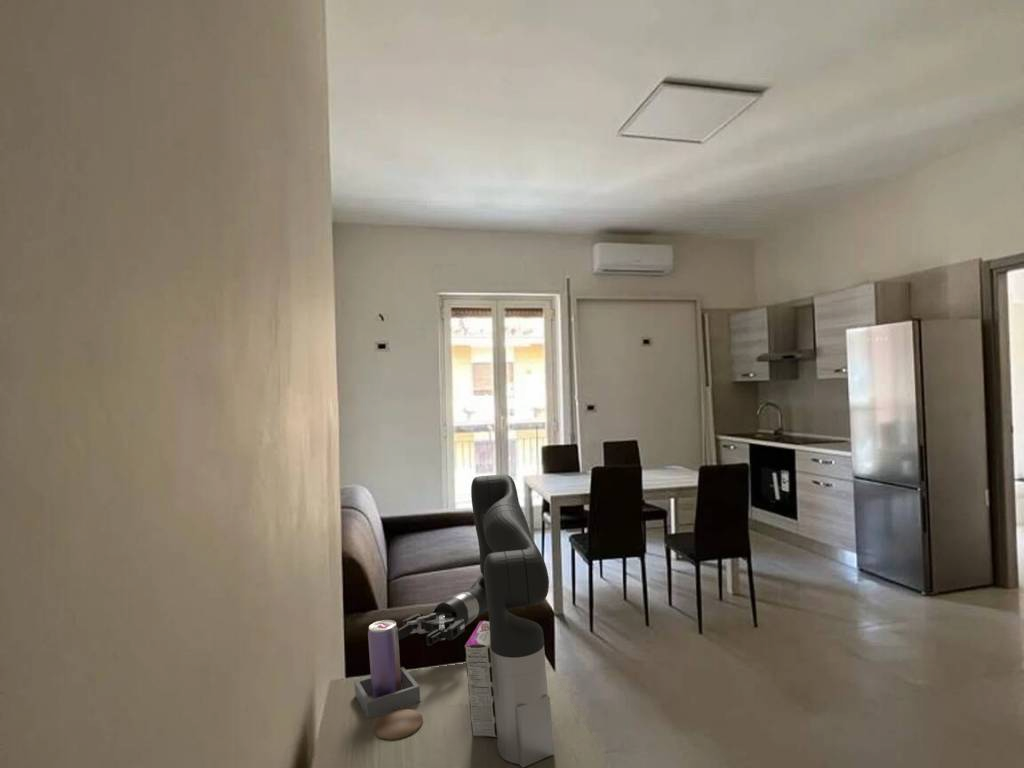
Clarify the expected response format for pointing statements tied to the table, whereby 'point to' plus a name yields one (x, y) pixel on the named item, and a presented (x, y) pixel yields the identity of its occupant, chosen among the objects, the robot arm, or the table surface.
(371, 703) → the square frame
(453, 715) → the table surface
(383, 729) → the coaster
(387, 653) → the beverage can
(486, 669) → the candy bar box
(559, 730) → the table surface
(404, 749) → the table surface
